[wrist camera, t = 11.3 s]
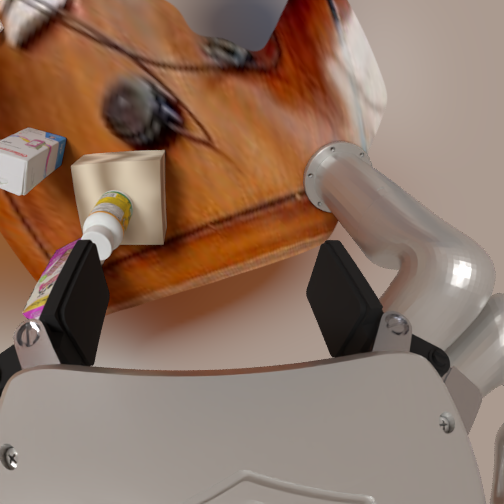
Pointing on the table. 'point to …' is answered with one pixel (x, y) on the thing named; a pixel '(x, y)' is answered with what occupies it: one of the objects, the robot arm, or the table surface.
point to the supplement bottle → (108, 222)
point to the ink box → (29, 159)
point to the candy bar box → (47, 282)
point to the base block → (126, 190)
